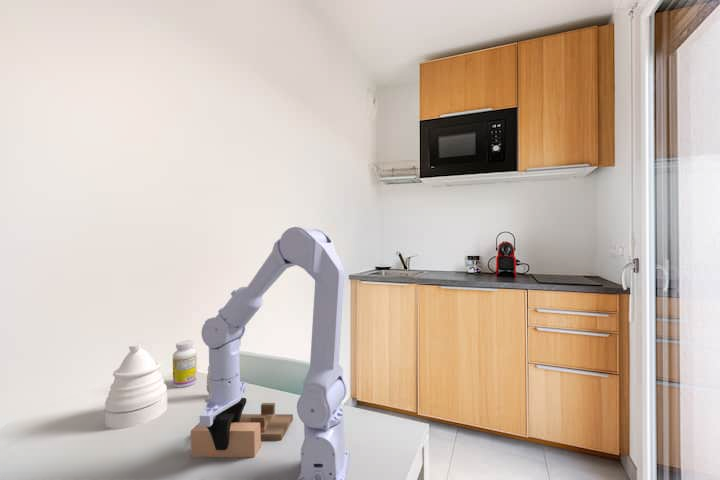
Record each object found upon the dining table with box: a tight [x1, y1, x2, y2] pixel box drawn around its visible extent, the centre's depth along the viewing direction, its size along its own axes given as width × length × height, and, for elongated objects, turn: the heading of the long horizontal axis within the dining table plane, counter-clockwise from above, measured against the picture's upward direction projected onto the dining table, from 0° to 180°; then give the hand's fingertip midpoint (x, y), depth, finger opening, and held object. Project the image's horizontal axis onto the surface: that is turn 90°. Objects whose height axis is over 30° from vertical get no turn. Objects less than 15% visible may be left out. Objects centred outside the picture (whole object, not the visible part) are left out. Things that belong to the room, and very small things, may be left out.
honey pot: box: [104, 343, 168, 430], centre depth 80 cm, size 13×13×18 cm
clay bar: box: [190, 422, 262, 458], centre depth 63 cm, size 3×13×5 cm, turn 86°
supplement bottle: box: [172, 339, 198, 388], centre depth 98 cm, size 7×7×13 cm
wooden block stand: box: [239, 402, 294, 441], centre depth 71 cm, size 8×20×4 cm, turn 85°
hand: (226, 443), depth 63 cm, fingers closed on clay bar, 3 cm apart
